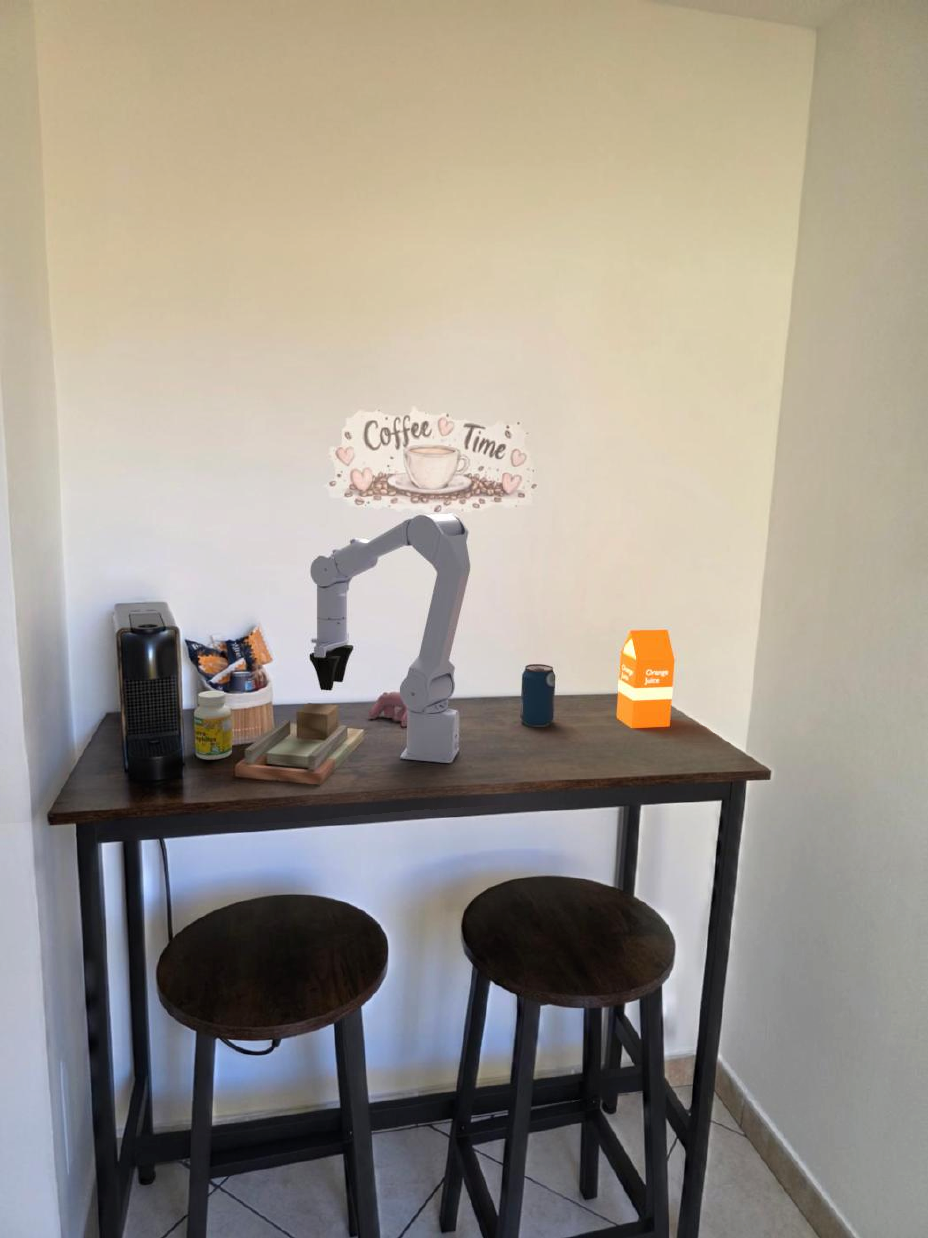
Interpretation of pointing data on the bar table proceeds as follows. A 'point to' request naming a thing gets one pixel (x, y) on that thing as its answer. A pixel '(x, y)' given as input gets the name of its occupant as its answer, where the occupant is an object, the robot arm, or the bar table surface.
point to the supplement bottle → (212, 726)
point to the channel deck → (297, 754)
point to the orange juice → (646, 679)
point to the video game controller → (389, 707)
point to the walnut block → (316, 721)
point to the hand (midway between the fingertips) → (331, 685)
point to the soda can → (537, 695)
